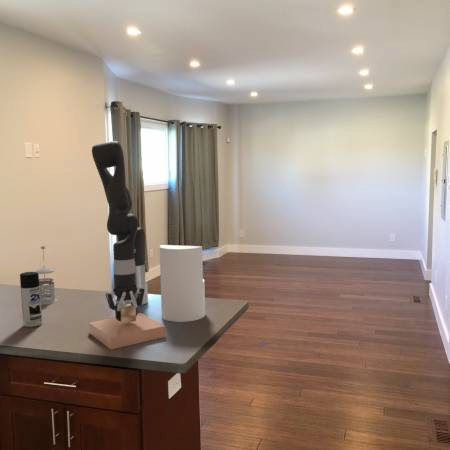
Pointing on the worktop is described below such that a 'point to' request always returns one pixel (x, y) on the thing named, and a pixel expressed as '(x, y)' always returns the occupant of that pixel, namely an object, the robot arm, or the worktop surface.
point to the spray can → (30, 299)
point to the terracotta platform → (126, 331)
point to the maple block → (128, 313)
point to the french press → (46, 297)
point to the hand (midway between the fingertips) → (126, 319)
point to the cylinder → (182, 283)
